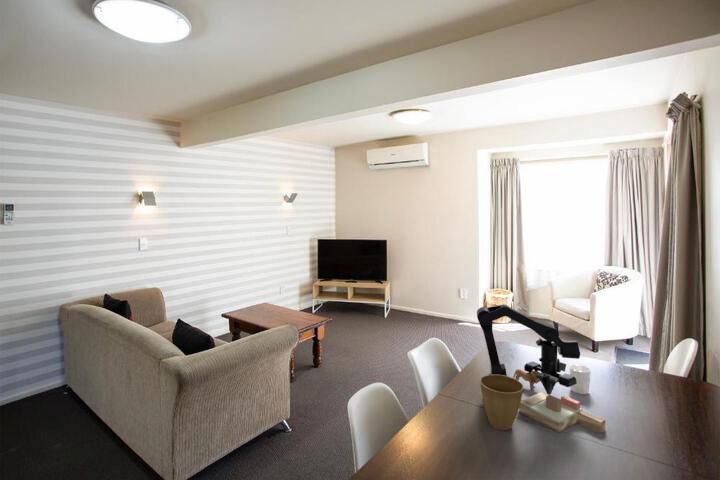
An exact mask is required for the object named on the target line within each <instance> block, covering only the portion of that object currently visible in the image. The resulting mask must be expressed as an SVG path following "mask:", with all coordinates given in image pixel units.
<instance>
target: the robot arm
mask: <svg viewBox="0 0 720 480" xmlns="http://www.w3.org/2000/svg"><path fill="white" fill-rule="evenodd" d="M503 317H507V318H509V319H511V320H512V321H514V322H517V323H518V324H520V325H522V326H524V327H527V328H529V329H531V330H532V331H533V332H534V333H536V334H537V335H538V336H539V338H538V339H537V340H535V344H536V345H537V346H539V347H541V348H540V352H541V353H540V357H539V358H538V361H539V362H540V363H538V362H535V361H530V362H527V363H525V364H524V368H523V369H524V370H523V371H524V372H526V373H529V372H530V373H531V372H532V371H537V372H538V375H537V377H538V378H539V379H540V383H541V384H542V386H543V388H544V390H545V393H547V394H548V395H551V394H552V393H553V391H554V388H555V386H556V384H557V383H558V384H559V385H560V386H563V387H566V388H571V386H573V385H575V384H577V380H576V378H575V377H574V376H572V375H570V373H569V374H568V373H565V372H566V367H567V363H564V362H561V360H560V359H559V358H558V355H559V356H561V358H563V359H564V358H565V359H576V360H579V359H580V358H581V351H580V347H579V342H578V341H577V340H573V339H572V340H564V339H562V337H561V336H560V334H559V331H558V330H557V328H556V327H555V326H554V325H552V324H550V323H548V322H545V321H542V320H536V319H534V318H533V317H530V316H528V315H526V314H524V313H522V312H520V311H519V310H516V309H515V308H513V307H510V306H509V305H508V304H504V303H503V304H500V305H494V306H489V307H484V306H482V307H479V308H478V309H477V310H476V318H477V321H478V324H479V326H480V328H481V330H482V332H483V336H484V340H485V345H486V348H487V352H488V358H489V361H490V365H489V367H490V368H489V370H490V373H489V374H488V375H504V376H508V374H507V368H506V366H505V363H501V362H500V359H499V353H498V349H497V345H496V341H495V337H494V333H493V322H494V321H496V320H499V319H501V318H503ZM562 371H563V372H564V373H563V374H560V373H561V372H562ZM482 401H483V398H482Z"/></svg>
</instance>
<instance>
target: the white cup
mask: <svg viewBox="0 0 720 480" xmlns="http://www.w3.org/2000/svg"><path fill="white" fill-rule="evenodd" d="M569 375H572V376H574V377H575V378H576V380H577V384H575V385H573V386H571V387H570V390H571V391H572V392H574V393H576V394H581V395H586V394H587V395H588V394H589V393H590V386H591V385H590V383H591V369H590V367H587V366H585V365H580V364H572V365H569Z"/></svg>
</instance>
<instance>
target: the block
mask: <svg viewBox="0 0 720 480" xmlns="http://www.w3.org/2000/svg"><path fill="white" fill-rule="evenodd" d="M560 399H561V403H562V404H564V405H567V406H569V407H571V408H574V409H576V410H578V409H580V408H581V402H580V401H579V400H576V399H574V398H571V397H569V396H566V395H563V396H561V397H560Z"/></svg>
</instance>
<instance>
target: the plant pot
mask: <svg viewBox="0 0 720 480" xmlns="http://www.w3.org/2000/svg"><path fill="white" fill-rule="evenodd" d="M479 384H480V390H481V391H480V392H481V395H482V399H483V400H482V401H483V405H484V408H485V409H484V410H485V413H486V415H487V418H488V422H489V423H490V426H492V427H493V428H495V429H496V428H497V430H499V429H500V431H508V429H509V430H511V428H512V427H513V424H514V423H515V420H516V419H517V415H518V412H519V406H520V403H521V401H522V398H523V393H524V384H523V383H522V382H521V381H520V380H516V379H515V377H514V378H513V377H511V376H508V375H507V376H504V375H489V374H487V375H484V376H481V378H480V379H479Z"/></svg>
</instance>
